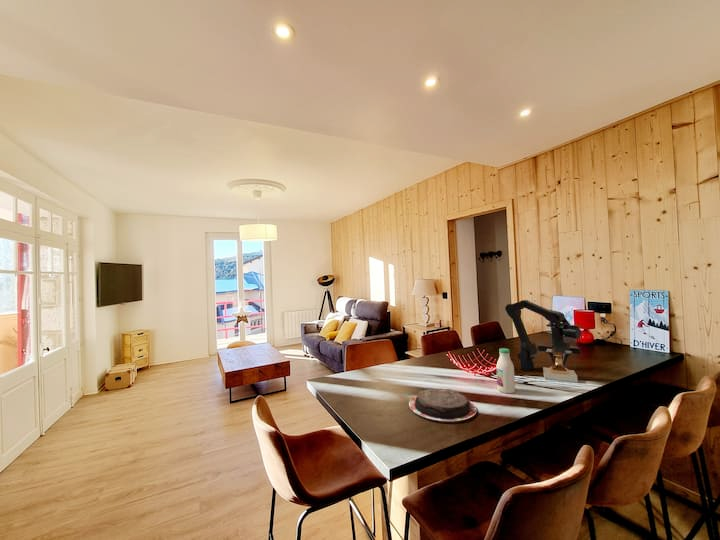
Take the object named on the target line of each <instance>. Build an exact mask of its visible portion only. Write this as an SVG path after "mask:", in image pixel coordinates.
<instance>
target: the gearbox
mask: <svg viewBox="0 0 720 540" xmlns="http://www.w3.org/2000/svg"><path fill="white" fill-rule="evenodd" d="M542 373H543V377H544V380H547V381H556V382H564V383H565V382H566V383H574V384H578V383H579V382H578V375H577V374H576V371H575V370H572V369H568V368H567V367H563V368H556V367H554V366H549V367H544V366H543V367H542Z"/></svg>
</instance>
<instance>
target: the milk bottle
mask: <svg viewBox="0 0 720 540" xmlns="http://www.w3.org/2000/svg"><path fill="white" fill-rule="evenodd" d="M498 351H499V357H498V359H497V363H496V384H497V385H496V388H497V391H499V392H501V393H502V394H503V393H505V394H515V392H516V381H515V367H514V366H515V365H514V363H513V361H512V359H511V357H510V355H511V353H510V352H511V351H510V349H509V348H505V347H504V348H503V347H500V348H499V349H498Z"/></svg>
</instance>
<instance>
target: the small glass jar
mask: <svg viewBox="0 0 720 540" xmlns="http://www.w3.org/2000/svg"><path fill="white" fill-rule="evenodd" d="M553 357H554V364H553V365H554V366H553V367H556V368H564V366H563V355H561V354H553Z"/></svg>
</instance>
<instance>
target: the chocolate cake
mask: <svg viewBox="0 0 720 540" xmlns="http://www.w3.org/2000/svg"><path fill="white" fill-rule="evenodd" d="M408 407H409V408H410V410H411V411H412V412H413V413H414V414H415V415H417V416H418V417H421V418H422V419H424V420H427V421H430V422H433V421H436V422H438V423H441V424H446V423H452V424H457V423H460V422H461V423H462V422H465V421H466V420H469V419H471V418H473V417H474V416H475V415H476V413H477V407H476V405H475V404H474V403H473V402H472V401H470V400H469V399H468V398H467V397H466V396H465V395H463V394H462V393H461V392H458V391H455V390H454V389H451V388H450V389H449V388H447V389H446V388H445V389H443V388H428V389H424V390H419V391H418V392H417V395H416V396H413V397H412V398H411V399H410V400H409V401H408Z"/></svg>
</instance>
